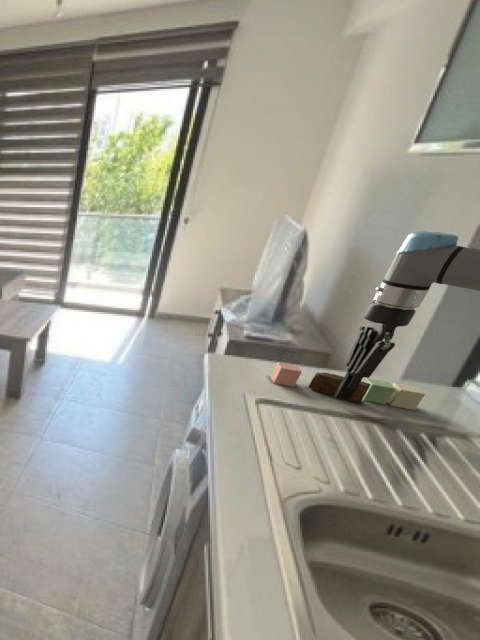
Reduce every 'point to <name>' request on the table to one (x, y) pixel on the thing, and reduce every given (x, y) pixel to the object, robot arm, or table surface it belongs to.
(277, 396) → the table surface
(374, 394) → the cube sage
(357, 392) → the brick
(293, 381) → the cube rose
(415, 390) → the cube cream
